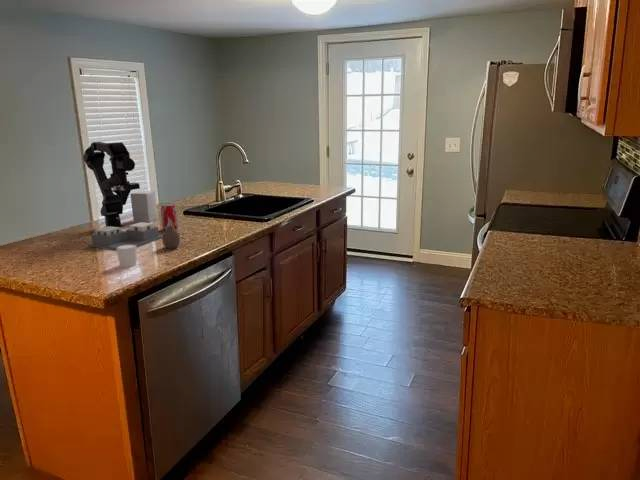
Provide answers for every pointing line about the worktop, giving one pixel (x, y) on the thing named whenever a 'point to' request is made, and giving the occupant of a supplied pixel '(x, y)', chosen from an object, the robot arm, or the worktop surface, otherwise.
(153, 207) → the supplement box
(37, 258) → the worktop surface
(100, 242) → the board
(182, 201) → the worktop surface
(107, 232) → the grey-green block
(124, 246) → the shot glass
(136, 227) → the cream block with holes
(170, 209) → the soda can
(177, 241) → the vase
